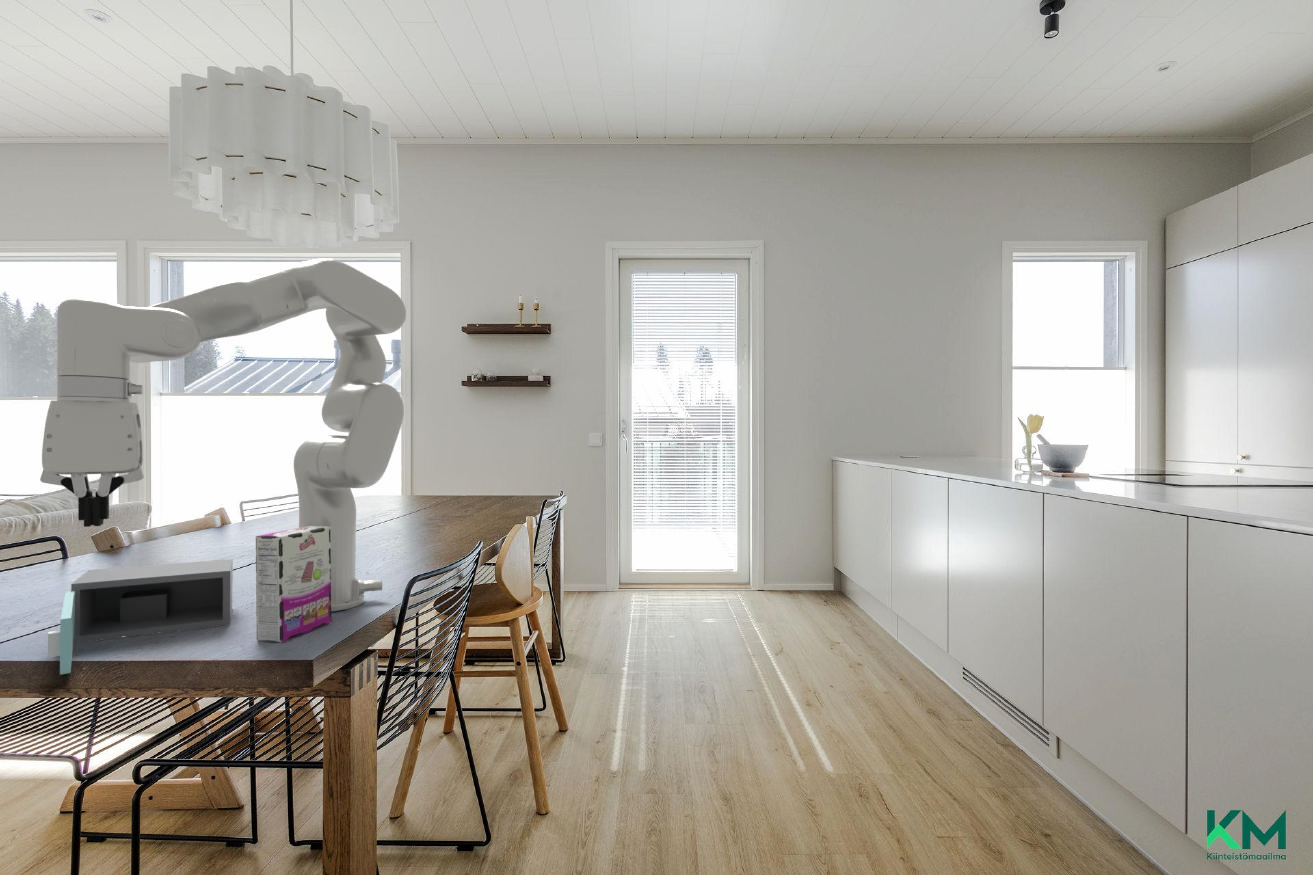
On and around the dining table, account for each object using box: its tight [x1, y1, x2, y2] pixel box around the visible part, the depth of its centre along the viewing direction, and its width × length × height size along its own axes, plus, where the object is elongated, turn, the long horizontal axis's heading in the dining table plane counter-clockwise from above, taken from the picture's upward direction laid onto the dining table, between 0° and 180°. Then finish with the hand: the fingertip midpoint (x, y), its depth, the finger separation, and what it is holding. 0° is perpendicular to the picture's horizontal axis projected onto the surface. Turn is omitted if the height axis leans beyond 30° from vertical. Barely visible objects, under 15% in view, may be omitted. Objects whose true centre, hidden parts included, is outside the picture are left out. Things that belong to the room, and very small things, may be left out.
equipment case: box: [70, 558, 234, 645], centre depth 108 cm, size 20×12×9 cm, turn 122°
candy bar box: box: [255, 526, 332, 644], centre depth 104 cm, size 11×5×16 cm, turn 168°
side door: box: [47, 590, 75, 675], centre depth 89 cm, size 19×2×7 cm, turn 41°
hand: (93, 525), depth 89 cm, fingers closed
